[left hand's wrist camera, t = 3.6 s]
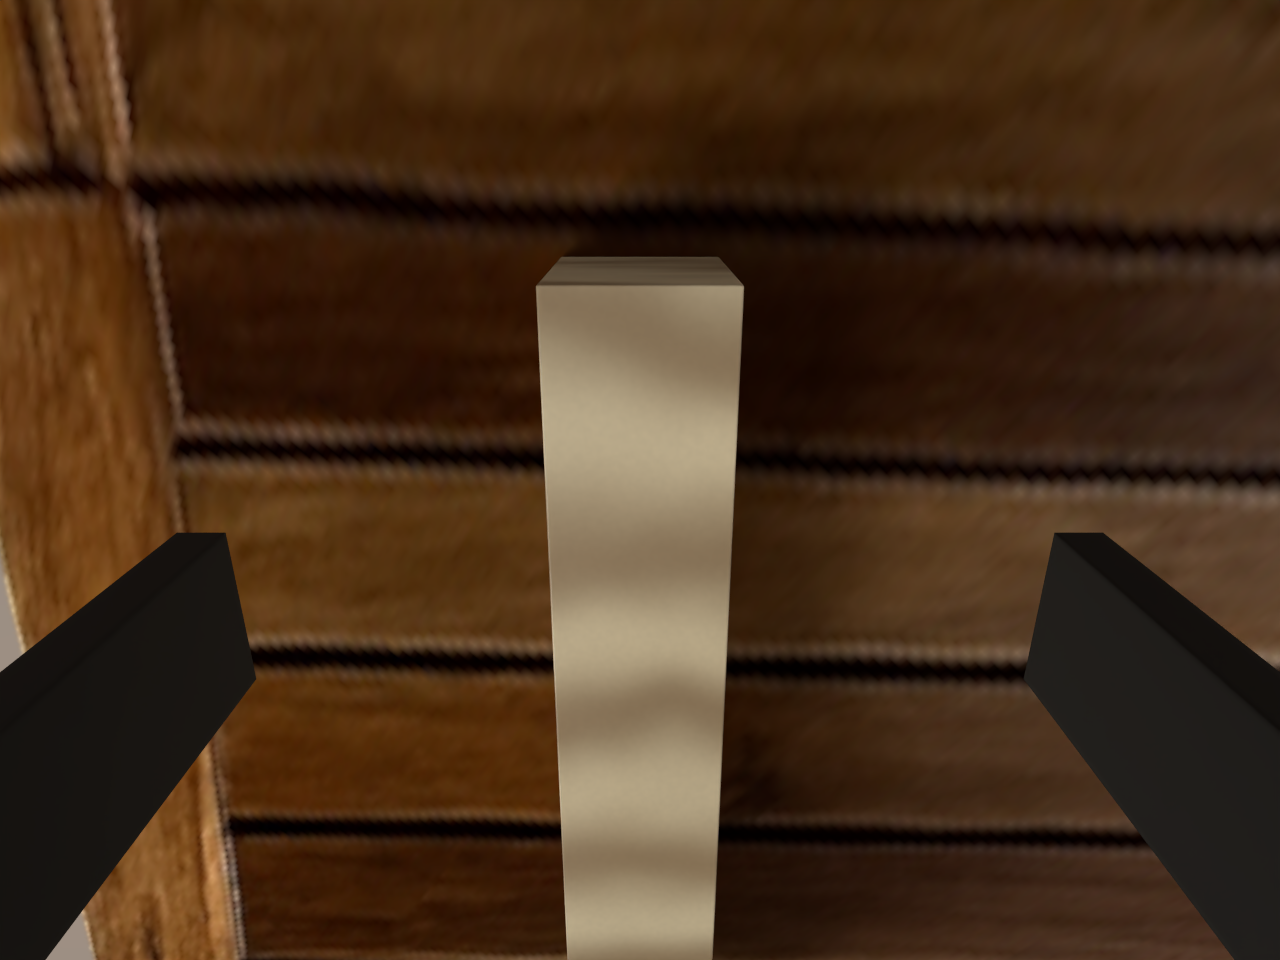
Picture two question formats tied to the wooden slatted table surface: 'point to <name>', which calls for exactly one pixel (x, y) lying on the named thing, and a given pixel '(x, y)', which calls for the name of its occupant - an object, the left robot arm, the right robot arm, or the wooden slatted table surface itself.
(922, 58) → the wooden slatted table surface
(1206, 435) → the wooden slatted table surface
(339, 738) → the wooden slatted table surface
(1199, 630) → the left robot arm
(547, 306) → the birch plank
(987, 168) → the wooden slatted table surface
